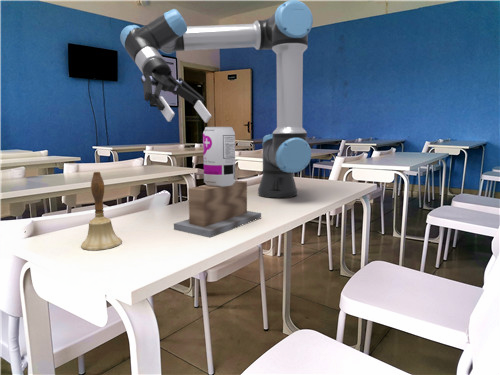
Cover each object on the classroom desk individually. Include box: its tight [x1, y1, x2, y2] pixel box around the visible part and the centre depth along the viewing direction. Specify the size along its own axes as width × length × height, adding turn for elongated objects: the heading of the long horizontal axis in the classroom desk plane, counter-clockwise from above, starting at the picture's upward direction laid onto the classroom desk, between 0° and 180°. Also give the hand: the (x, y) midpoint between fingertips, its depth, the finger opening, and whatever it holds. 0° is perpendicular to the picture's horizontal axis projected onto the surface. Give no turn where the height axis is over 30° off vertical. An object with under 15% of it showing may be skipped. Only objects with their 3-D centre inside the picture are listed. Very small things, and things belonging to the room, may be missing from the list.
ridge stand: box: [173, 179, 262, 238], centre depth 93 cm, size 22×12×10 cm, turn 145°
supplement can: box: [202, 126, 236, 187], centre depth 91 cm, size 8×8×15 cm
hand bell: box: [80, 171, 123, 251], centre depth 75 cm, size 8×8×16 cm
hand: (191, 118), depth 95 cm, fingers open, 13 cm apart
